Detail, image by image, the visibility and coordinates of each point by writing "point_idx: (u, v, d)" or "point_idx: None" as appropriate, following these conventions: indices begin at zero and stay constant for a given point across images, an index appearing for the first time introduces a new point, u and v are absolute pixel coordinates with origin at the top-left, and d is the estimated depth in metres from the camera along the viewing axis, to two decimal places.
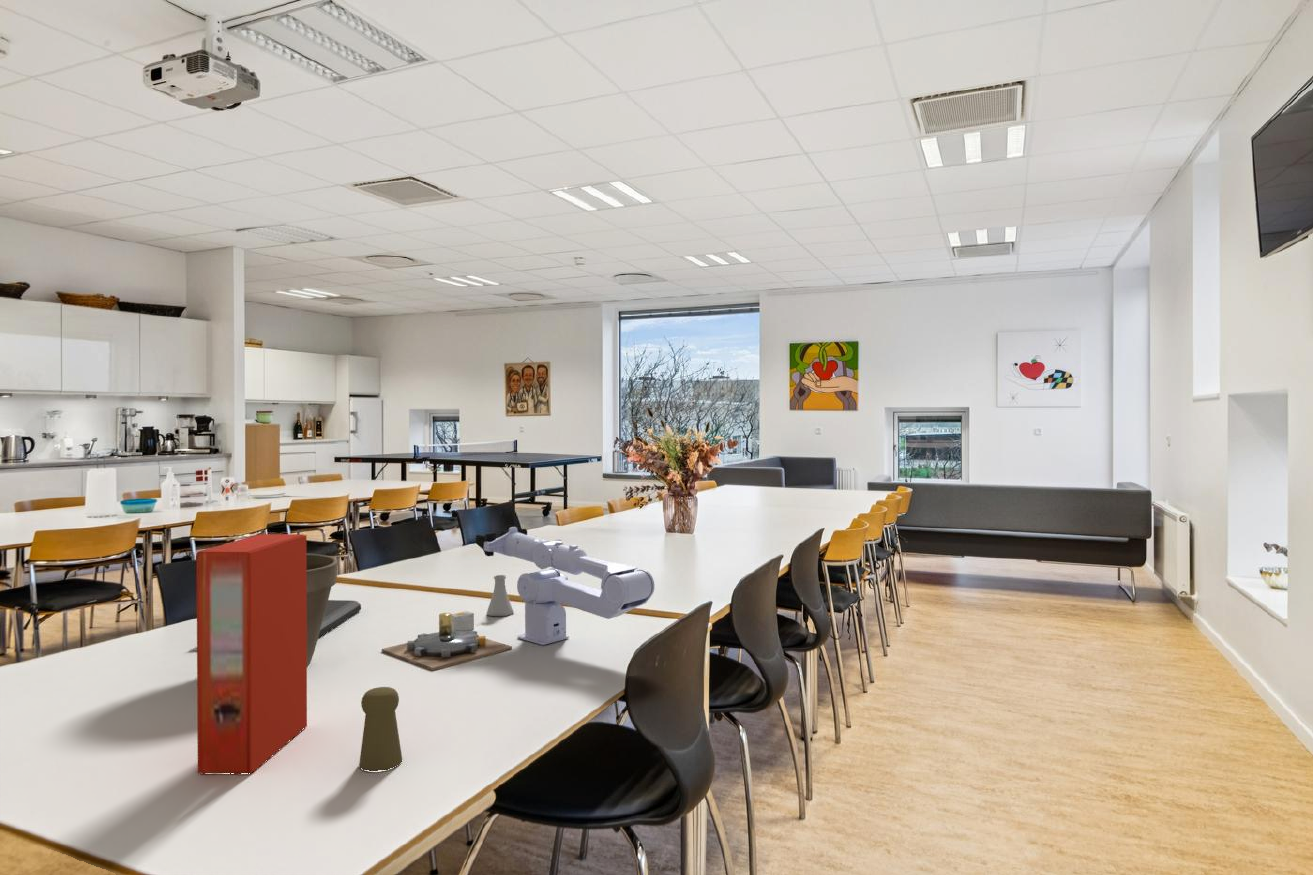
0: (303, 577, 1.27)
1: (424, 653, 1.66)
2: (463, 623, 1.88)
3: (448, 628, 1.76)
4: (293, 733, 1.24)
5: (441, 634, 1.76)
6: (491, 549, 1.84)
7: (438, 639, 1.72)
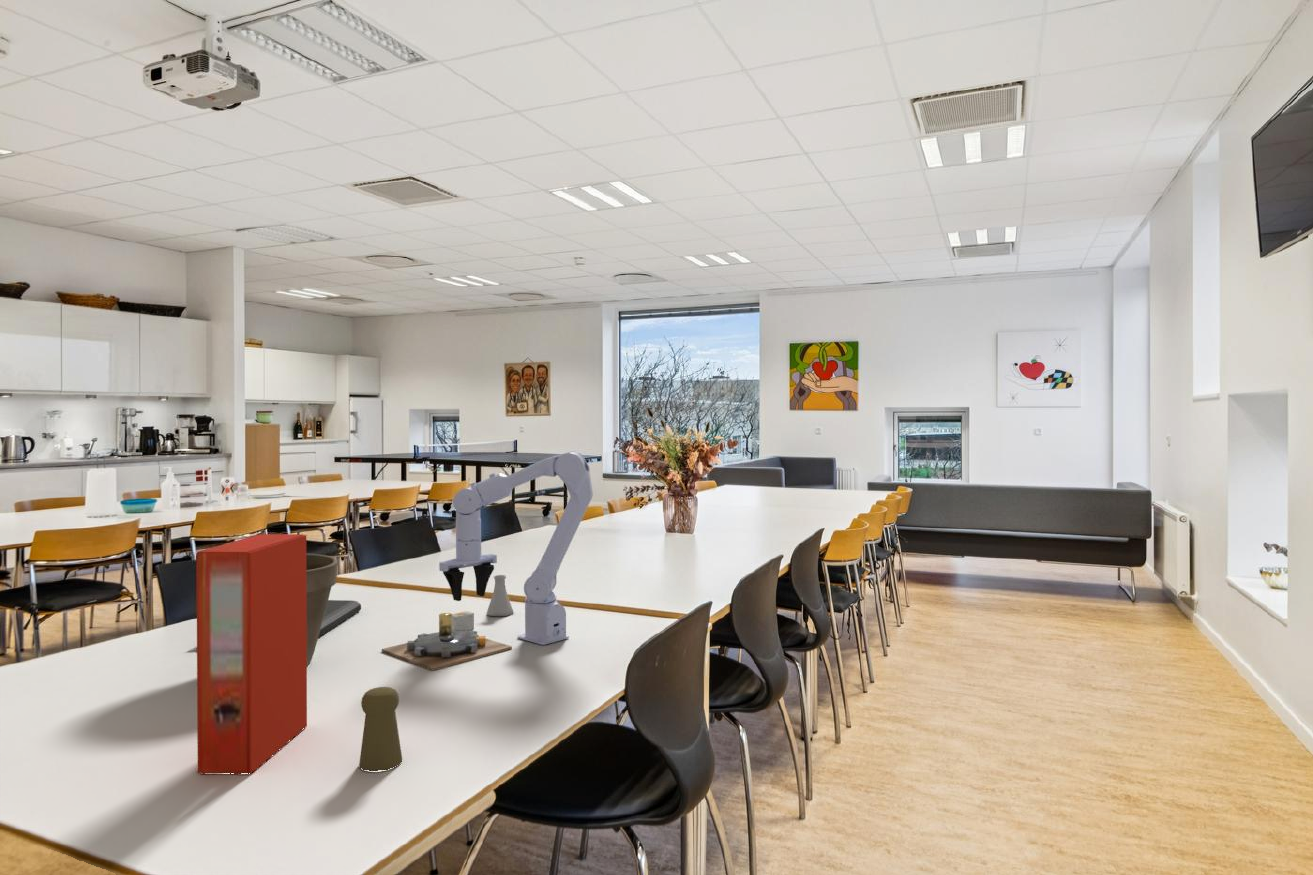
0: (303, 577, 1.27)
1: (424, 653, 1.66)
2: (463, 623, 1.88)
3: (448, 628, 1.76)
4: (293, 733, 1.24)
5: (441, 634, 1.76)
6: None
7: (438, 639, 1.72)
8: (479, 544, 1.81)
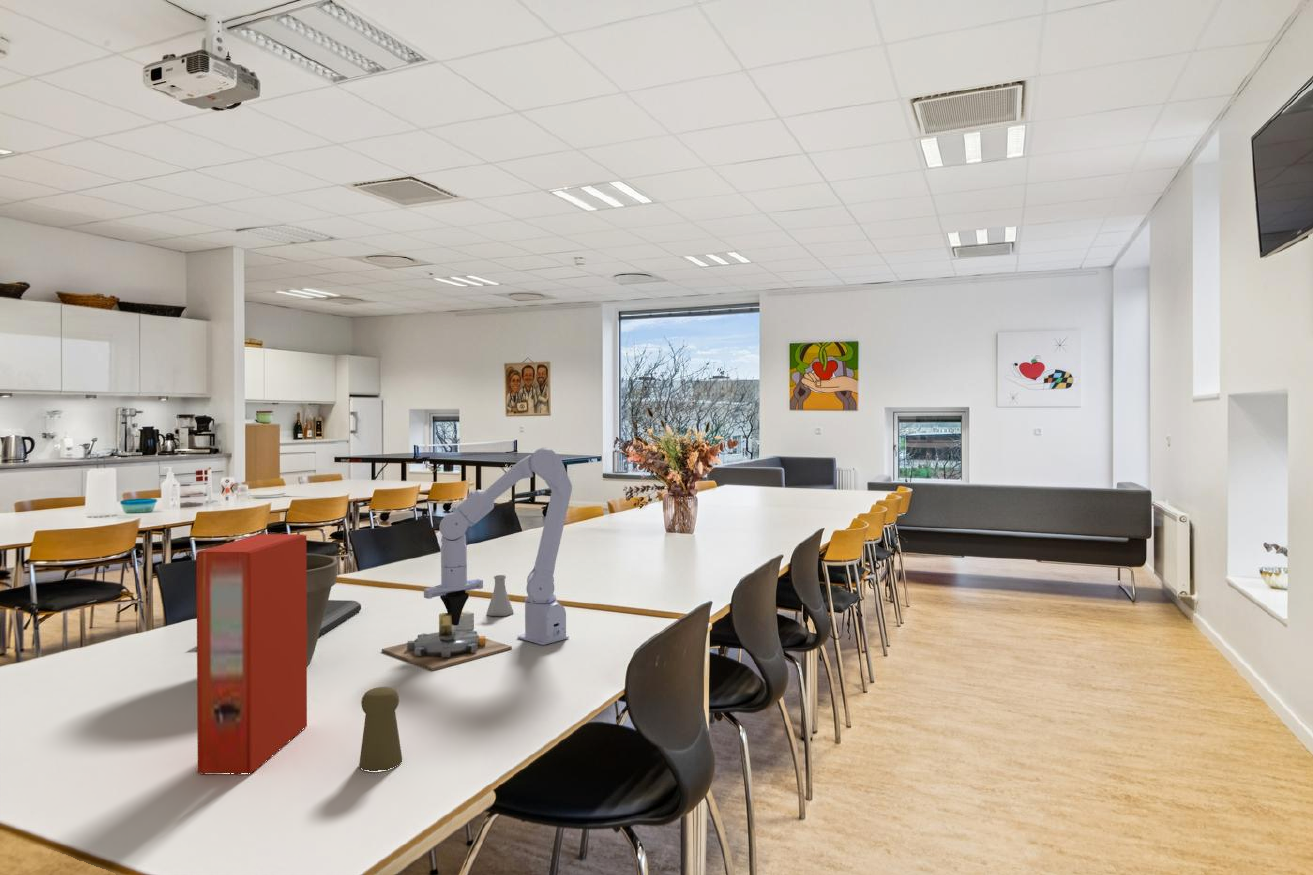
0: (303, 577, 1.27)
1: (424, 653, 1.66)
2: (463, 623, 1.88)
3: (448, 628, 1.76)
4: (293, 733, 1.24)
5: (441, 634, 1.76)
6: None
7: (438, 639, 1.72)
8: (464, 570, 1.78)
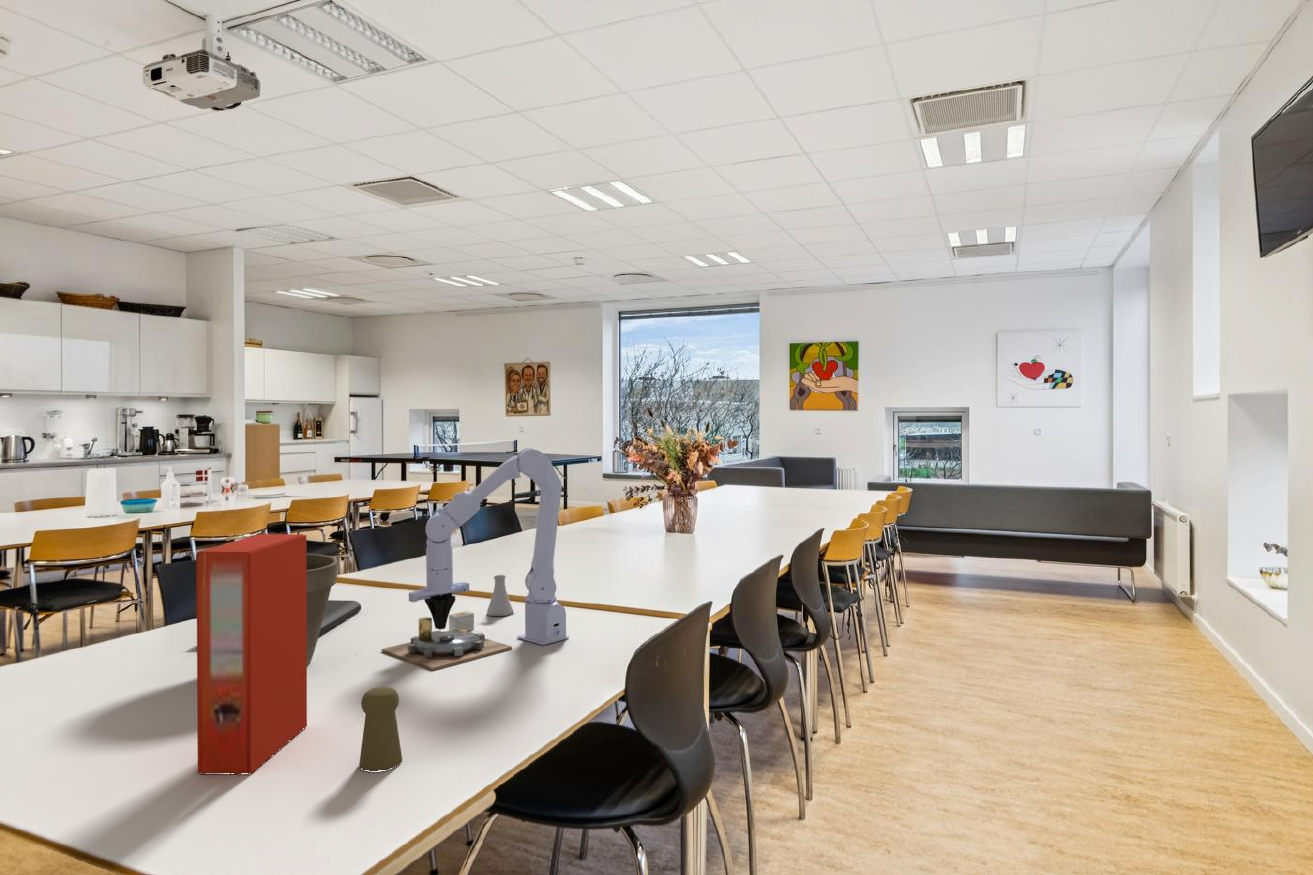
0: (303, 577, 1.27)
1: None
2: (463, 623, 1.88)
3: (431, 631, 1.73)
4: (293, 733, 1.24)
5: (428, 639, 1.72)
6: None
7: (440, 641, 1.71)
8: (450, 573, 1.75)
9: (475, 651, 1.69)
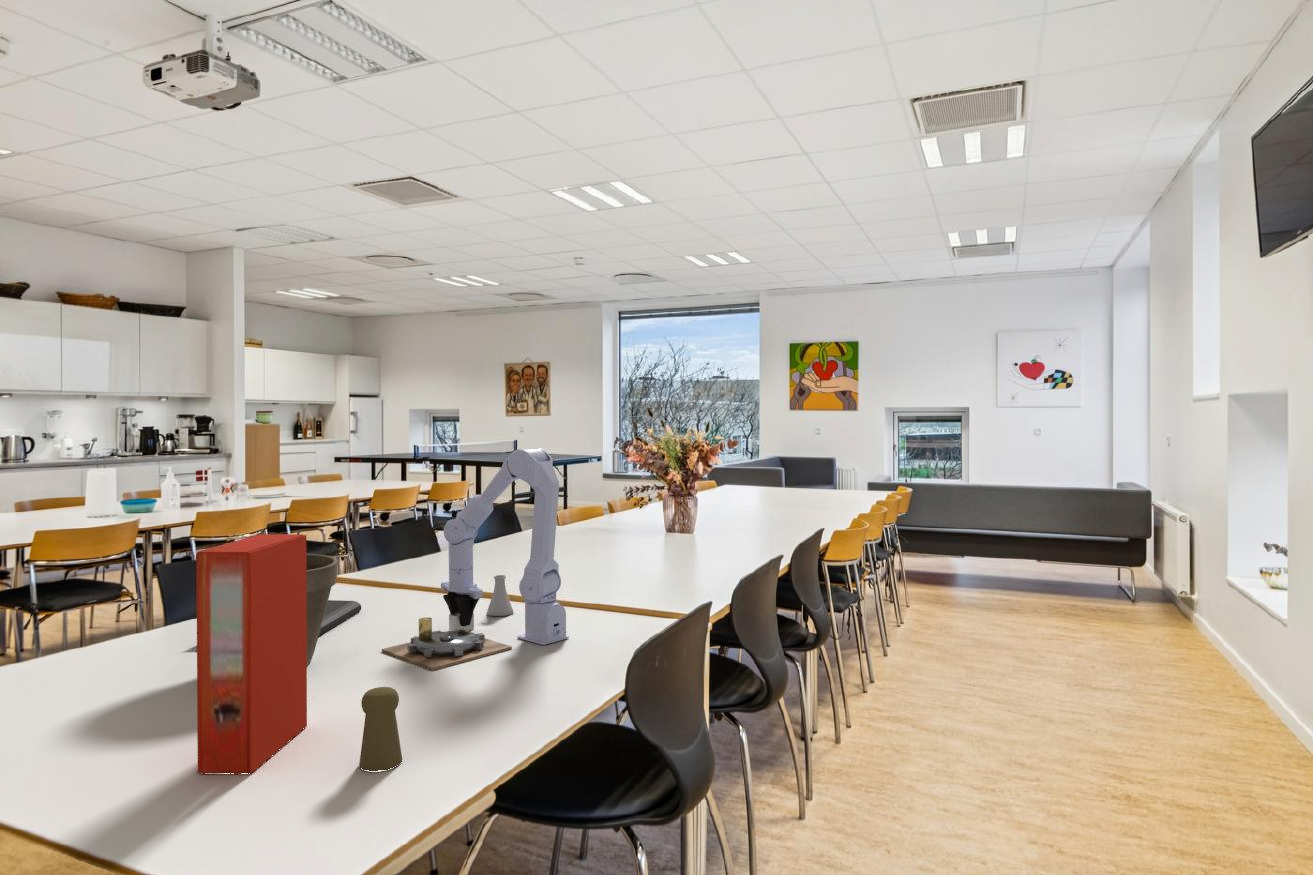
0: (303, 577, 1.27)
1: None
2: None
3: (431, 631, 1.73)
4: (293, 733, 1.24)
5: (428, 639, 1.72)
6: None
7: (440, 641, 1.71)
8: (454, 574, 1.86)
9: (475, 651, 1.69)
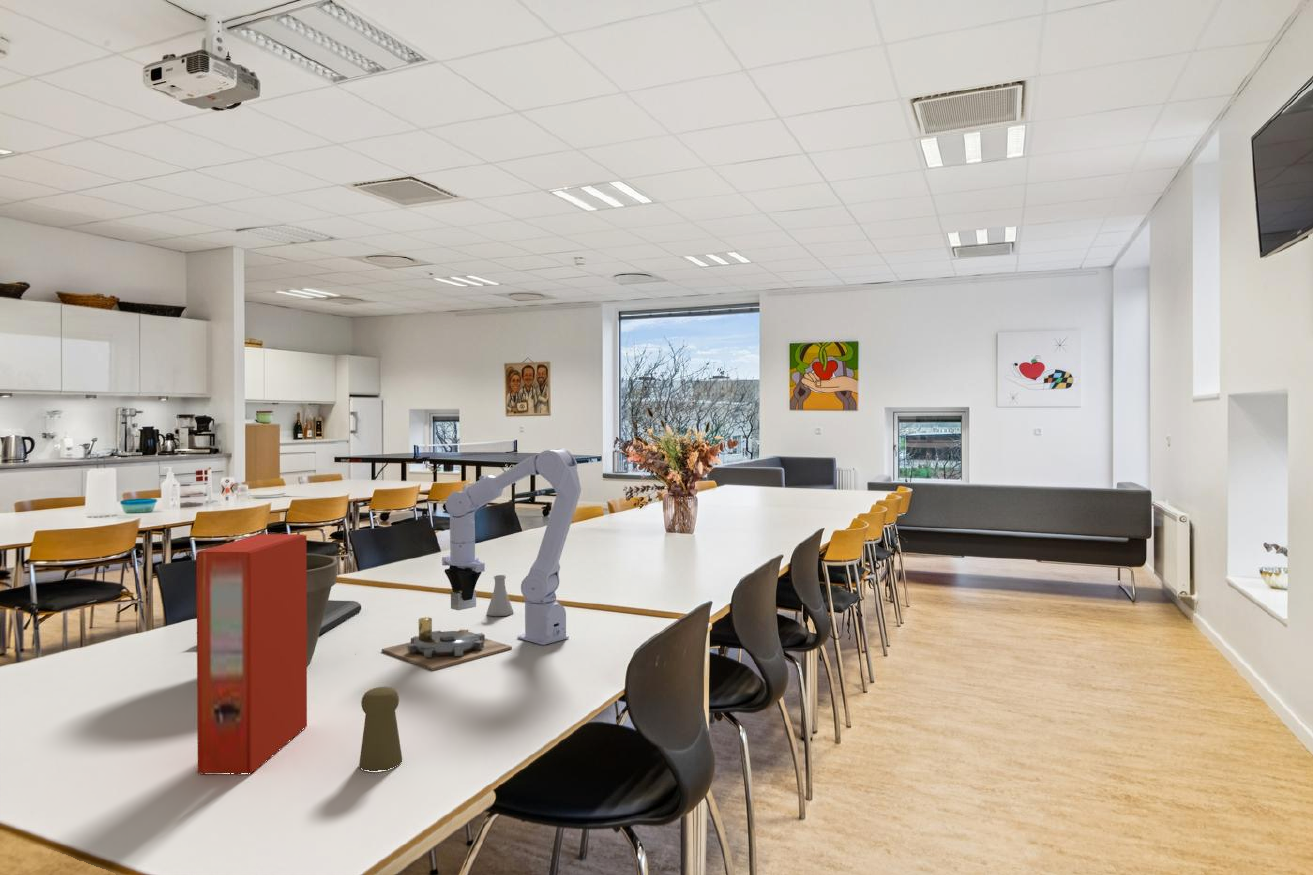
0: (303, 577, 1.27)
1: None
2: None
3: (431, 631, 1.73)
4: (293, 733, 1.24)
5: (428, 639, 1.72)
6: (445, 559, 1.89)
7: (440, 641, 1.71)
8: (456, 547, 1.83)
9: (475, 651, 1.69)
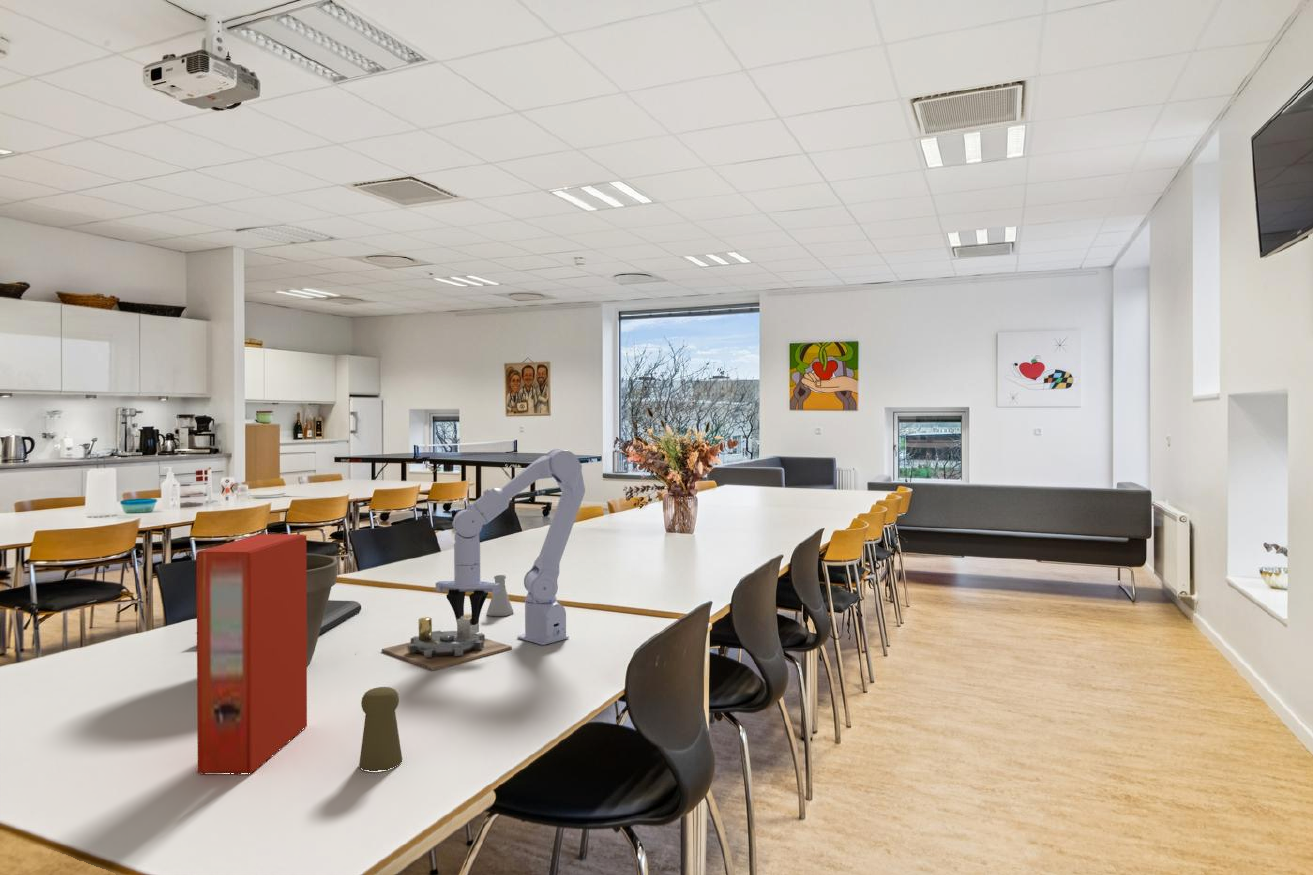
0: (303, 577, 1.27)
1: None
2: (473, 626, 1.76)
3: (431, 631, 1.73)
4: (293, 733, 1.24)
5: (428, 639, 1.72)
6: None
7: (440, 641, 1.71)
8: (467, 570, 1.73)
9: (475, 651, 1.69)
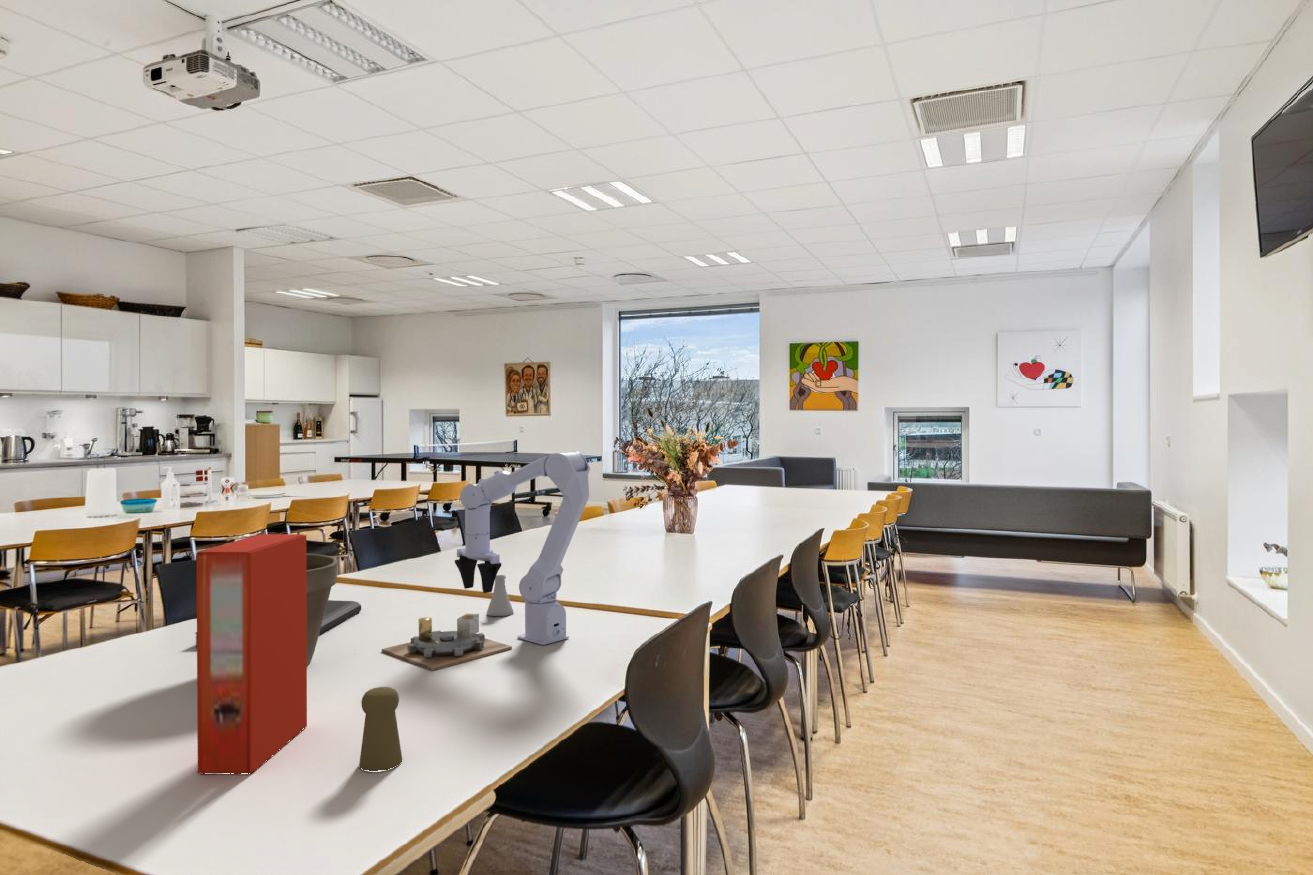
0: (303, 577, 1.27)
1: None
2: (473, 626, 1.76)
3: (431, 631, 1.73)
4: (293, 733, 1.24)
5: (428, 639, 1.72)
6: None
7: (440, 641, 1.71)
8: (471, 539, 1.85)
9: (475, 651, 1.69)
